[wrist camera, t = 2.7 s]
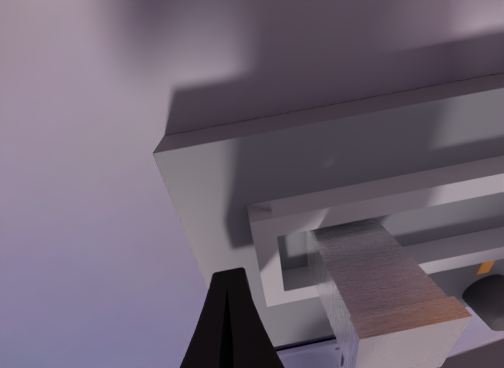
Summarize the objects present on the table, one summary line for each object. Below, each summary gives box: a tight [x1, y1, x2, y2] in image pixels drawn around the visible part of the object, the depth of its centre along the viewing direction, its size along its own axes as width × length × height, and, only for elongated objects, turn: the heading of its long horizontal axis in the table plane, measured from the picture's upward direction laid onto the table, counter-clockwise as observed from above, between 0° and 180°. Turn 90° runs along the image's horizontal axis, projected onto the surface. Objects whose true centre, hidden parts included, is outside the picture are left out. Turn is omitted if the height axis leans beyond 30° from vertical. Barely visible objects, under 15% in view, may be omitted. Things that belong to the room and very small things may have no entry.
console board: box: [153, 73, 504, 347], centre depth 13 cm, size 16×24×4 cm, turn 99°
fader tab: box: [306, 217, 472, 368], centre depth 9 cm, size 3×3×5 cm
